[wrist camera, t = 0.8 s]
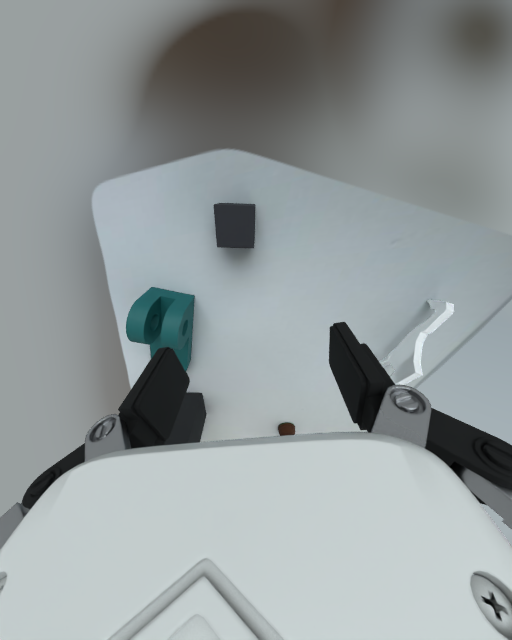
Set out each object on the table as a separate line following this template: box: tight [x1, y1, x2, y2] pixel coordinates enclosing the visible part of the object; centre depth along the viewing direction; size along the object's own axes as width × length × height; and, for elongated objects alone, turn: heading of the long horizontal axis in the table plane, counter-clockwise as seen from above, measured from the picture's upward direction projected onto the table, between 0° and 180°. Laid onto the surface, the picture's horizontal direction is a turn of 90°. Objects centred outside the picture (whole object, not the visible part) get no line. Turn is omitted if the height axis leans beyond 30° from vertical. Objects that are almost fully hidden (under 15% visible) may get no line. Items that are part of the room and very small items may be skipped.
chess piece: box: [278, 423, 295, 436], centre depth 49 cm, size 5×5×10 cm
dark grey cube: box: [214, 203, 255, 248], centre depth 24 cm, size 4×4×4 cm
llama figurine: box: [379, 299, 454, 385], centre depth 34 cm, size 2×11×18 cm
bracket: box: [126, 287, 195, 371], centre depth 33 cm, size 18×7×8 cm, turn 167°
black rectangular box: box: [153, 393, 206, 446], centre depth 43 cm, size 9×9×12 cm
